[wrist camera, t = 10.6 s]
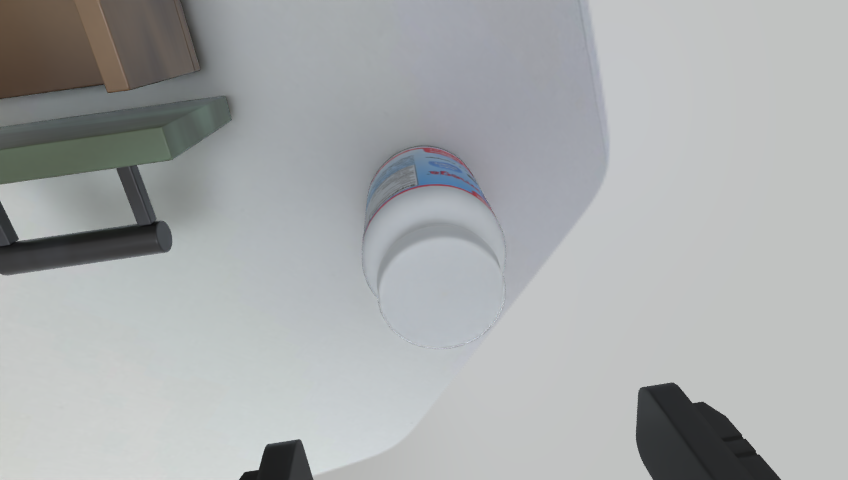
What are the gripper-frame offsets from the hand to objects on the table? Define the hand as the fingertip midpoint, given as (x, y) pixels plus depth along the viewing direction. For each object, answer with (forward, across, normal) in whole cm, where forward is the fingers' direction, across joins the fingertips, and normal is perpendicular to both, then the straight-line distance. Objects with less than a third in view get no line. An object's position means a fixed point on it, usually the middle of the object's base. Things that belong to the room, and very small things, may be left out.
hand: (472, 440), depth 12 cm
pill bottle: (+18, 0, 0) cm, 18 cm away
